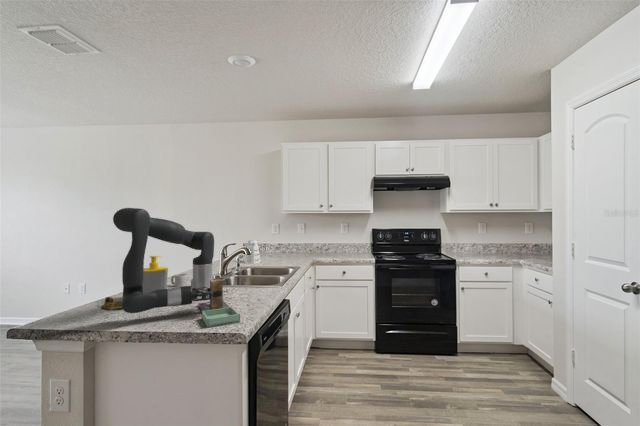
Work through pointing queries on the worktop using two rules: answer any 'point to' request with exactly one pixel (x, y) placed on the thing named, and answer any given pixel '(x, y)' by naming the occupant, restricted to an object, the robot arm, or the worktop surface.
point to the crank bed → (207, 306)
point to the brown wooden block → (216, 301)
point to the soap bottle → (154, 277)
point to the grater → (253, 254)
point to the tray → (220, 316)
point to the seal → (111, 304)
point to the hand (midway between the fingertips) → (219, 291)
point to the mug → (179, 280)
